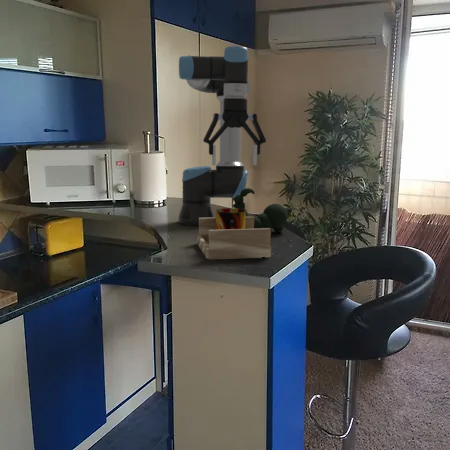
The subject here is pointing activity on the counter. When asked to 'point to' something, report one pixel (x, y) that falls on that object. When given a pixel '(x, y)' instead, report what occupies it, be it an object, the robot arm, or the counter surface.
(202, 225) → the open wooden box
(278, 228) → the toy figurine
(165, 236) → the counter surface
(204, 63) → the robot arm
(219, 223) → the mug
